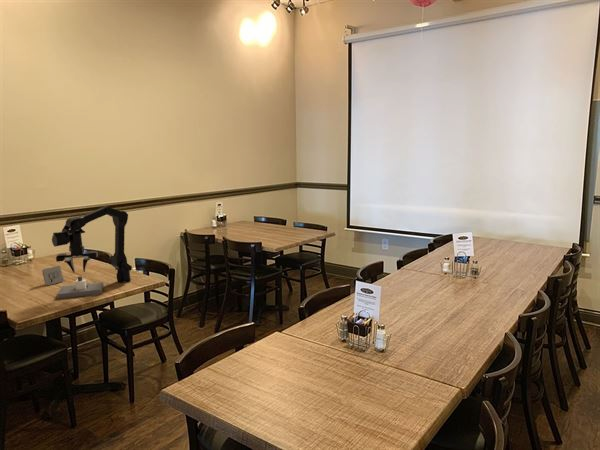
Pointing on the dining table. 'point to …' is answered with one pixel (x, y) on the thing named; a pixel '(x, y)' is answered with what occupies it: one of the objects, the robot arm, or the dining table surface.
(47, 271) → the electrical switch
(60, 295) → the socket plate
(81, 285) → the plug
